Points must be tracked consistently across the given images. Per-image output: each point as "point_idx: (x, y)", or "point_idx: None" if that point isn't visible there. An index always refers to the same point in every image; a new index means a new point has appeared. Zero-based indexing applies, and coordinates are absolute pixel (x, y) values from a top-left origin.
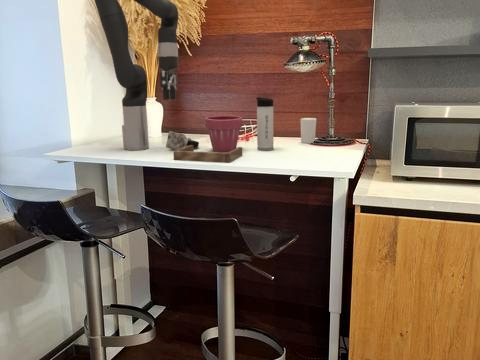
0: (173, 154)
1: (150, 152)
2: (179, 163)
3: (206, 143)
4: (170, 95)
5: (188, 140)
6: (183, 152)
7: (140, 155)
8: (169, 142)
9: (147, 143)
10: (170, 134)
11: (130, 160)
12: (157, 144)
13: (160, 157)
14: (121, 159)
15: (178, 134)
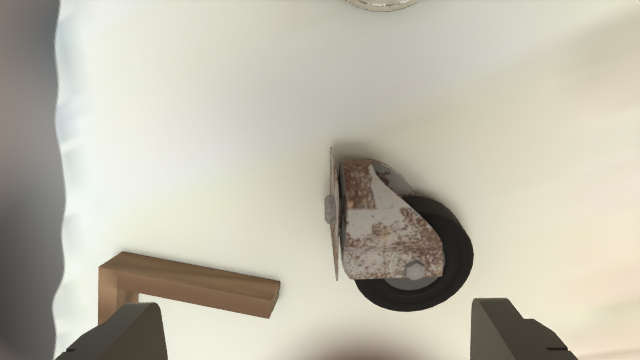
0: (107, 261)
1: (272, 76)
2: (65, 292)
3: (582, 300)
4: (492, 336)
5: (376, 273)
6: (99, 311)
7: (186, 57)
8: (332, 172)
9: (379, 5)
10: (335, 190)
11: (68, 63)
12: (556, 4)
13: (158, 177)
14: (77, 5)
15: (335, 243)
